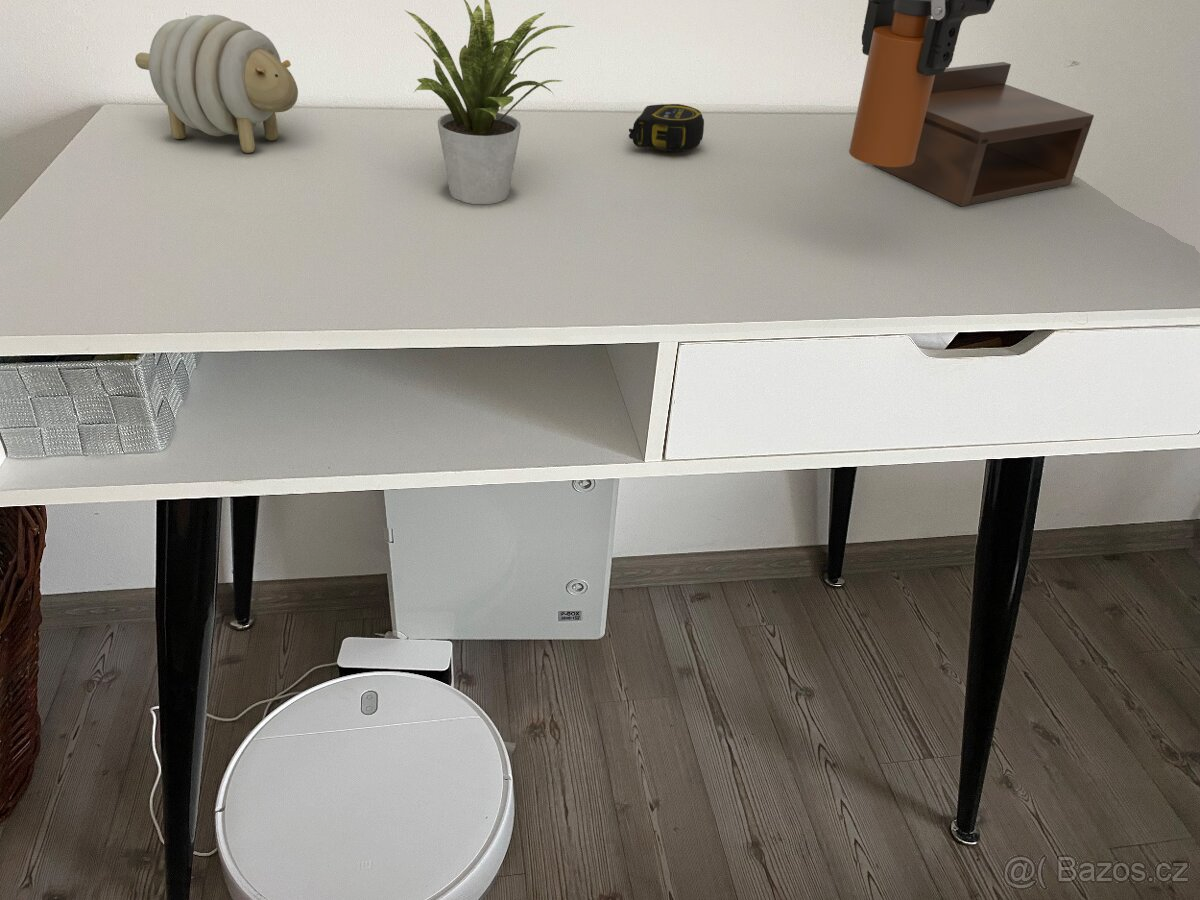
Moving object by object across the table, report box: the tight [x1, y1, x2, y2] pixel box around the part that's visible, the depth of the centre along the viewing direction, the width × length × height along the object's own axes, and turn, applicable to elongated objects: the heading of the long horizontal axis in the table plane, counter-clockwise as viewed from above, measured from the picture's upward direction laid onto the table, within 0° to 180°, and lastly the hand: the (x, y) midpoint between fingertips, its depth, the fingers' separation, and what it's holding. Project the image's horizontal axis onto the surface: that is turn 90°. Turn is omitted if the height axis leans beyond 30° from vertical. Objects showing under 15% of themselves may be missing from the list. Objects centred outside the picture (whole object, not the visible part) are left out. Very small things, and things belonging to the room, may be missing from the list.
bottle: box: [848, 0, 935, 167], centre depth 75 cm, size 5×5×12 cm
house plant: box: [405, 0, 576, 205], centre depth 85 cm, size 14×14×16 cm
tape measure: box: [628, 103, 705, 152], centre depth 102 cm, size 7×7×4 cm
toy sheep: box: [134, 14, 299, 154], centre depth 94 cm, size 11×17×11 cm, turn 75°
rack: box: [873, 61, 1095, 207], centre depth 100 cm, size 12×16×9 cm
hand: (901, 63), depth 74 cm, fingers closed on bottle, 5 cm apart
